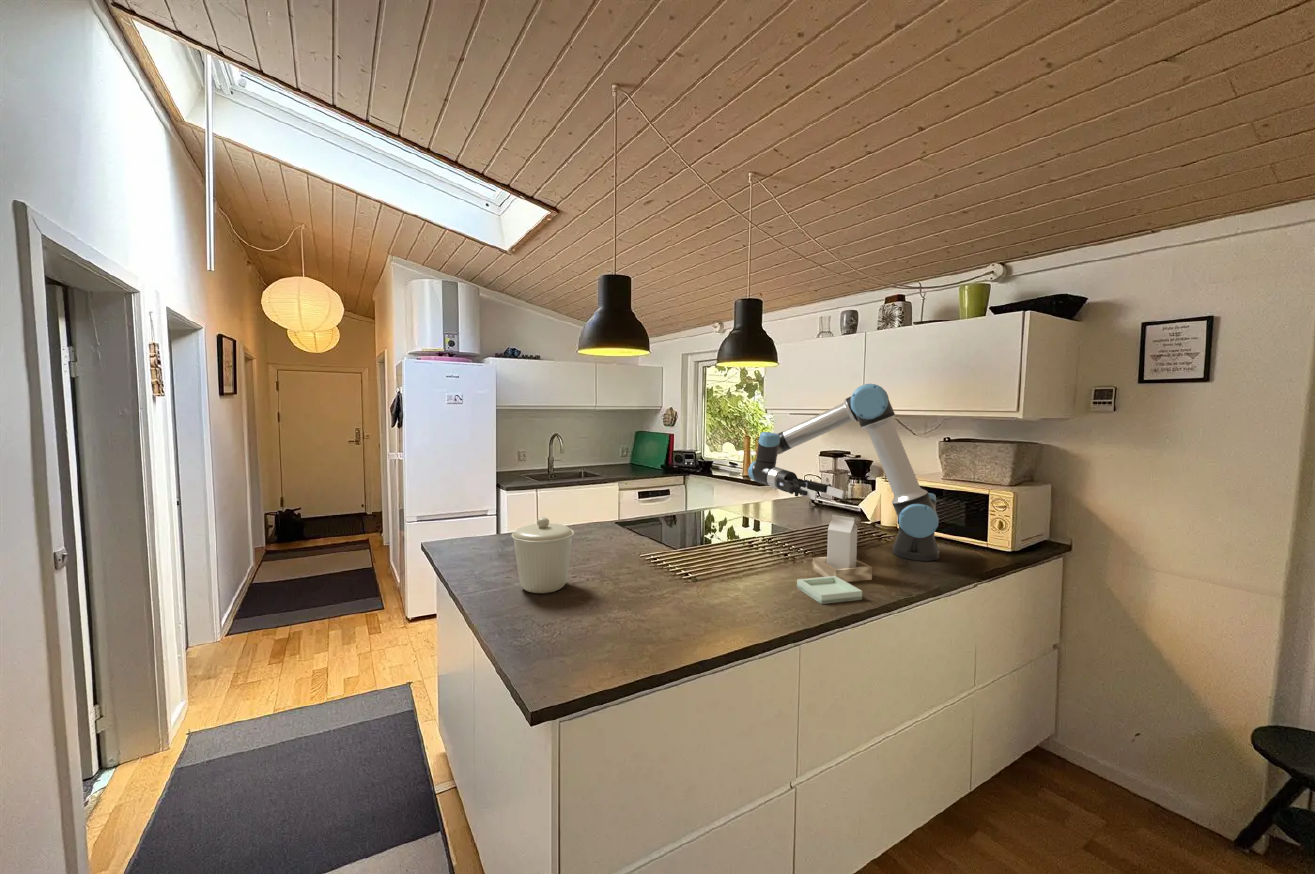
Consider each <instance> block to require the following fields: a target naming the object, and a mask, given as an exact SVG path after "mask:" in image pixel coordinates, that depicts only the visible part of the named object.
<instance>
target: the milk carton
mask: <svg viewBox="0 0 1315 874" xmlns="http://www.w3.org/2000/svg"><path fill="white" fill-rule="evenodd" d="M855 521H856V519H855V517H851V516H842V515H837V514H832V515H831V519H830V521H829V524H828V528H827V545H826V546H827V548H826V550H827V551H826V552H827V553H826V554H827V555H826V557H827V564H828V565H830V566H832V567H834V568H836V569H844V568H855V567H856V560H857V555H858V554H857V553H858V551H857V548H858V547H857V545H858V527H857V524H856V522H855Z"/></svg>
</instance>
